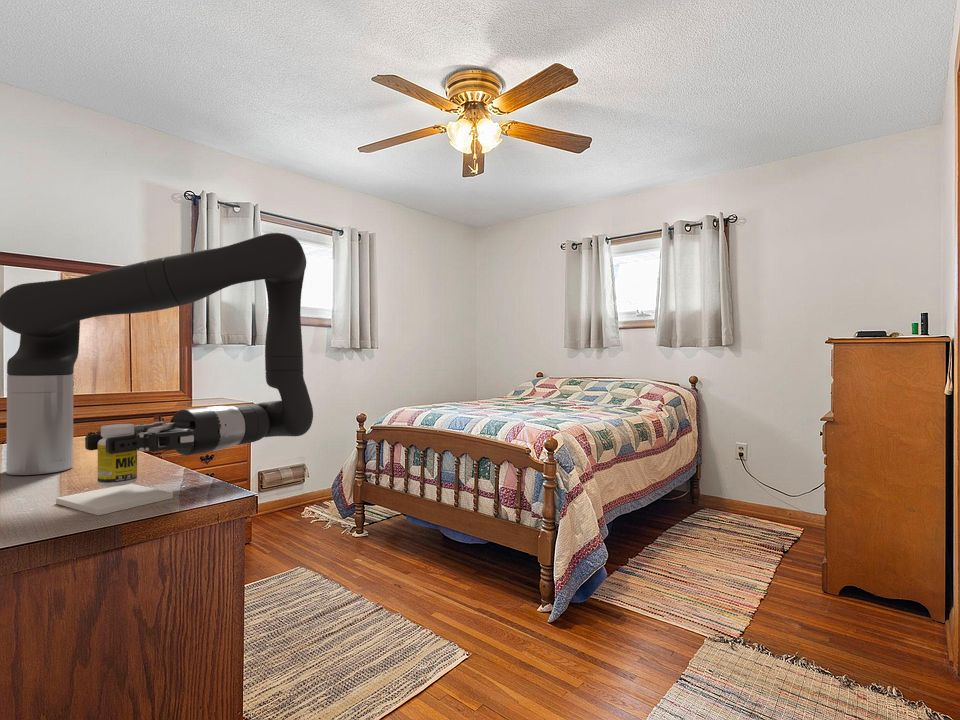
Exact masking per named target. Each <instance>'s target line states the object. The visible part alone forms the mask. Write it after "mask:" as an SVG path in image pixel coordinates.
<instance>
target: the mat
mask: <svg viewBox="0 0 960 720" xmlns="http://www.w3.org/2000/svg"><path fill="white" fill-rule="evenodd" d="M173 494H174V493H173V492H170V491H167V490H163V489H157V488H155V487H154V488H153V487H148V486H143V485H139V484H136V483H131V484H127V485H122V486H110V487H105V488H104V487H103V488H99V489H95V490H89V491H84V492H80V493H74V494H69V495H65V496H60V497H55V504H57V505H59V506H64V507H67V508H71V509H74V510H77V511H82V512H84V513H88V514H91V515H95V516H101V515H102V516H103V515H106V514H110V513H114V512H118V511H119V512H120V511H123V510H128V509H132V508H136V507H141V506H145V505H149V504H153V503H157V502H163V501H166V500H170V499H173V498H174V495H173Z"/></svg>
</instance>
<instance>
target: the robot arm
mask: <svg viewBox="0 0 960 720" xmlns="http://www.w3.org/2000/svg"><path fill="white" fill-rule="evenodd" d="M306 268H307V257H306V254H305V251H304V248H303V246H302V244H301V243H300V241H299V240H298V239H297V238H295V237H294V236H292V235H291V234H288V233H286V232H281V231H274V232H268V233H264V234H261V235H257V236H255V237H252V238H251V237H250V238H248V239H245V240H241V241H239V242H236V243H232V244H229V245H225V246H221V247H215V248H210V249H204V250H197V251H190V252H187V253H180V254H176V255H169V256H163V257H159V258H154V259H149V260H145V261H144V260H143V261H140V262H137V263H136V262H135V263H132V264H128V265H124V266H119V267H115V268H111V269H107V270H103V271H100V272H97V273H91V274H87V275H85V276H84V275H83V276H79V277H72V278H64V279H55V280H47V281H36V282H25V283H21V284H17V285H15V286H12V287H11V288H10V287H9V289H7V290H6V291H4V292H3V293H2V294H1V295H0V324H1V325H2V326H4V328H6V329H8V330H9V331H11V332H13V333H15V334H19V335H20V336H19V346H18V349H17V351H16V352H15V354H14V355H12V356H11V357H10V358H9V359H8V361H7V363H6V454H5V455H6V457H5V459H6V461H5V462H6V465H5V470H6V473H5V474H7V475H11V476H31V475H43V474H52V473H57V472H63V471H66V470H70V469H72V468H73V464H74V463H73V461H74V460H73V459H74V455H73V454H74V373H75V372H74V367H75V363H76V362H77V359H78V356H79V351H80V350H79V349H80V348H79V347H80V336H81V335H80V333H81V331H80V330H81V321H83V320H87V319H91V318H96V317H102V316H103V317H105V316H112V315H117V316H118V315H130V314H142V313H149V312H157V311H162V310H167V309H172V308H176V307H180V306H184V305H188V304H192V303H195V302H197V301H200V300H202V299H205V298H207V297H210V296H211V295H213V294H216V293H218V292H220V291H221V290H223V289H225V288H228V287H231V286H234V285H237V284H242V283H243V284H244V283H247V282H249V283H250V282H255V281H261V280H264V284H265V289H266V294H267V295H266V296H267V307H268V308H267V312H268V314H267V325H266V333H265V341H264V343H265V344H264V358H265V359H264V360H265V361H264V364H265V370H264V371H265V381H266V384H267V385H268V387H269V388H272V389H276V390H278V393H279V396H280V400H272V401H271V400H270V401H265V402H259V403H253V404H250V403H249V404H248V403H247V404H238V405H237V404H236V405H212V406H203V407H195V408H193V407H192V408H184V409H179V410H177V411H176V412H175V413H174V414H173V415H172V417H171V419H170V422H166V421H155V422H152V423H150V424H149V423H147V424H146V423H140V424H133V425H134V434H133V435H127V436H119V437H112V438H108V439H106V453H108V454H115V453H122V452H128V451H134V450H136V448H137V452H145V451H148V452H151V453H155V452H159V451H167V450H175V452H177V453H178V454H180V455H182V456H192V455H197V454H203V453H209V452H214V451H220V450H225V449H228V448H231V447H234V446H235V447H236V446H239V445H244V444H250V443H254V442H258V441H260V440H261V439H263V438H271V437H272V438H273V437H301V436H303V435H305V434H307V433H308V431H309V430H310V429H311V427H312V424H313V420H314V409H313V404H312V401H311V398H310V397H311V396H310V393H309V390H308V387H307V384H306V382H305V378H304V352H303V351H304V349H303V338H302V337H303V336H302V334H303V333H302V321H301V309H302V308H301V303H302V292H303V291H302V290H303V283H304V278H305V272H306ZM102 438H103V437H102V436H101V432H100V433H94V434H93V433H91V434H87V435H86V436H85V438H84V446H85V447H84V448H85V449H86V451H96V450H97V451H98V442H99V440H101V439H102Z"/></svg>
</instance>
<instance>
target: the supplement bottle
mask: <svg viewBox="0 0 960 720" xmlns="http://www.w3.org/2000/svg"><path fill="white" fill-rule="evenodd" d="M134 425H135V424H133V423H118V424H117V423H116V424H115V423H114V424H106V425H101V426H100V433H101V436H102V437H103V438H102V439H101V440H99V442H98V450H97V485H98V486H100V487H107V488H109V487H115V486H122V485H127V484H134V483H136V482H137V480H138V451H137V448H136V450H134V451H128V452H122V453H115V454H108V453H106V439H108V438H112V437H119V436H127V435H133V434H134Z"/></svg>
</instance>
